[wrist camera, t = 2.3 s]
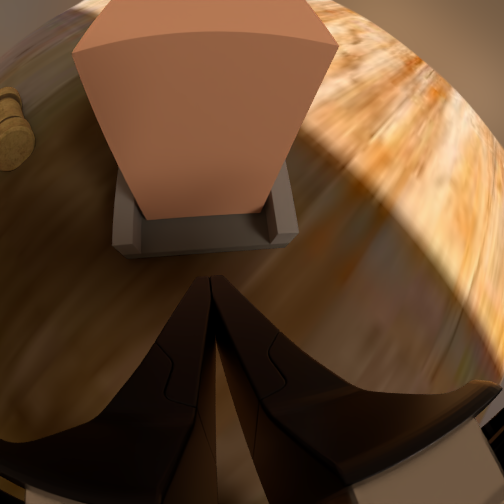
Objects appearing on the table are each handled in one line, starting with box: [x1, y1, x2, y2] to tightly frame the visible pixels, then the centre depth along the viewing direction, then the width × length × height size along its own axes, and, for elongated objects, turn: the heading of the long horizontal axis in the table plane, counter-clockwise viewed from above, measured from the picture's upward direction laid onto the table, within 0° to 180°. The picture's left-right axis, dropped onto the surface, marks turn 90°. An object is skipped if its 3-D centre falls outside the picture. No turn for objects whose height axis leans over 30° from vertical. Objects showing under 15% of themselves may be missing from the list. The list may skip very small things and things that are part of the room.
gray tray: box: [112, 161, 299, 259], centre depth 17 cm, size 18×10×4 cm, turn 7°
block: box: [72, 0, 339, 220], centre depth 11 cm, size 6×7×12 cm
